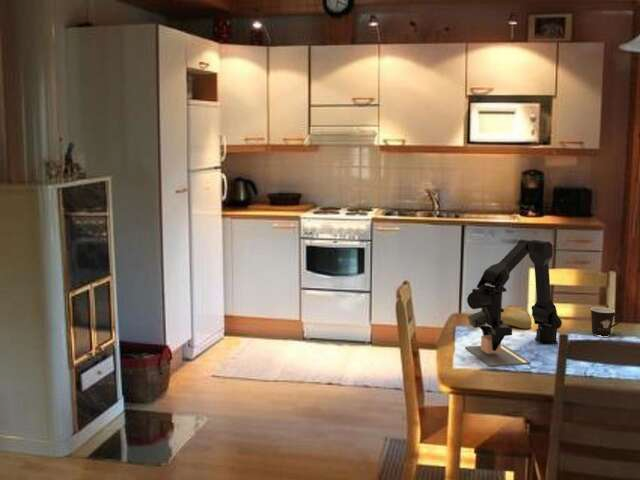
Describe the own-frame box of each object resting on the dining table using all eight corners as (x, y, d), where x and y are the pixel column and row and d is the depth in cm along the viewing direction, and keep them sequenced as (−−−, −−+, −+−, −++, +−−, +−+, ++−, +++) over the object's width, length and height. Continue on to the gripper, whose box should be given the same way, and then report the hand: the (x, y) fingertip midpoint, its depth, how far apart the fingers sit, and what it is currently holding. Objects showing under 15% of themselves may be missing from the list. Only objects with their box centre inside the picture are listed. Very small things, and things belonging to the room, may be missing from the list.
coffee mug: (588, 336, 281) (590, 311, 279) (589, 330, 289) (591, 306, 287) (621, 340, 276) (623, 314, 275) (621, 334, 284) (623, 309, 283)
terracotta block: (493, 348, 258) (494, 334, 257) (500, 352, 253) (501, 338, 252) (480, 349, 257) (481, 335, 256) (487, 353, 252) (487, 339, 251)
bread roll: (499, 320, 302) (500, 301, 301) (535, 326, 294) (536, 307, 292) (491, 325, 294) (492, 306, 293) (527, 331, 286) (528, 312, 285)
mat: (502, 345, 267) (502, 344, 267) (530, 363, 248) (530, 361, 248) (465, 348, 264) (465, 346, 264) (490, 366, 245) (490, 364, 244)
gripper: (460, 299, 259) (458, 341, 262) (483, 313, 241) (481, 358, 244) (489, 298, 262) (486, 339, 264) (514, 311, 244) (511, 356, 247)
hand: (490, 348), depth 255 cm, fingers closed on terracotta block, 5 cm apart
